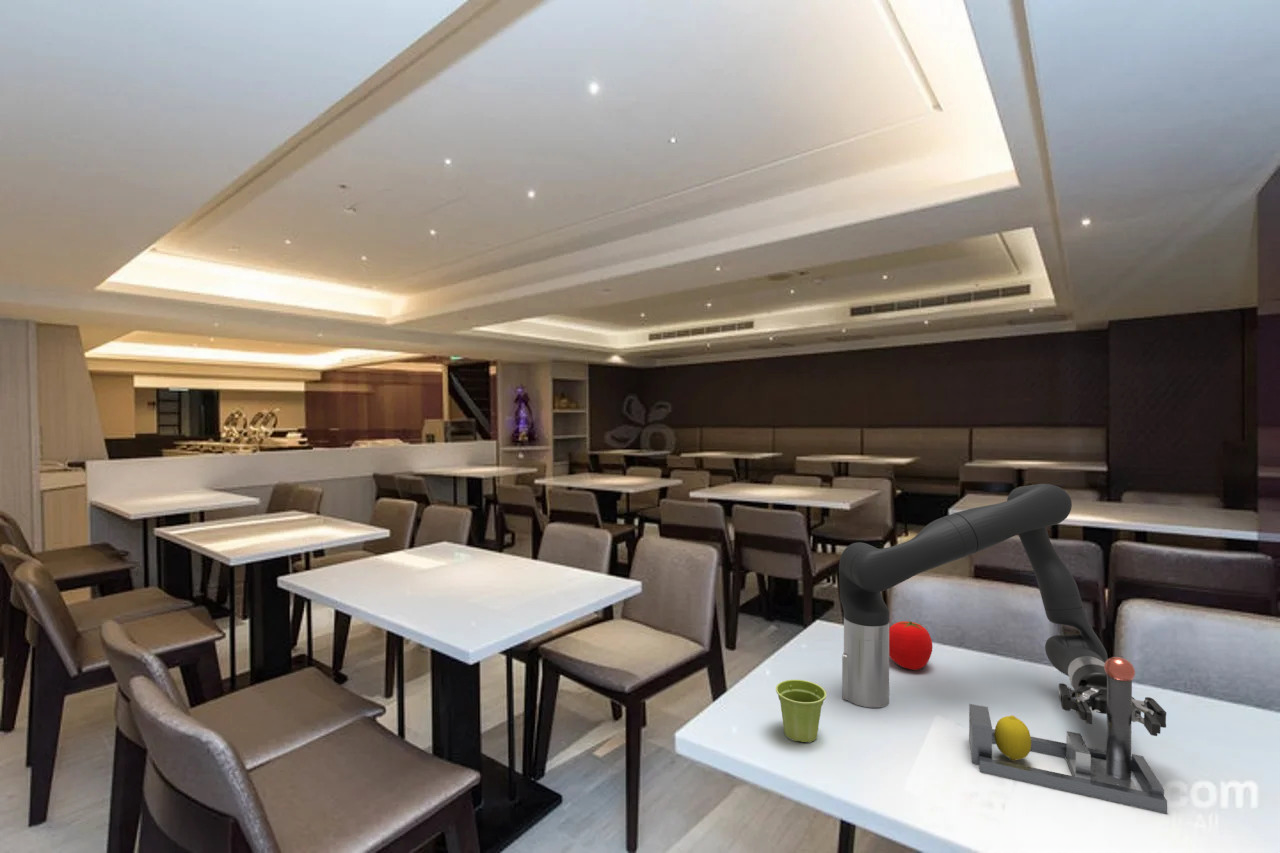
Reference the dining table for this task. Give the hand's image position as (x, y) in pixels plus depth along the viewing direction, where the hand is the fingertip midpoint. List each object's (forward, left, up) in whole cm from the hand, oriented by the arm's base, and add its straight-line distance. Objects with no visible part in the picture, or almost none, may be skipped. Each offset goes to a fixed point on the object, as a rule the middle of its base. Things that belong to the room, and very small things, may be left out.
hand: (1121, 724), depth 97 cm
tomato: (-33, +37, -11) cm, 50 cm away
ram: (-3, +1, -11) cm, 11 cm away
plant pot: (-51, -6, -11) cm, 52 cm away
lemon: (-15, +1, -11) cm, 18 cm away
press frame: (-10, +1, -11) cm, 14 cm away
